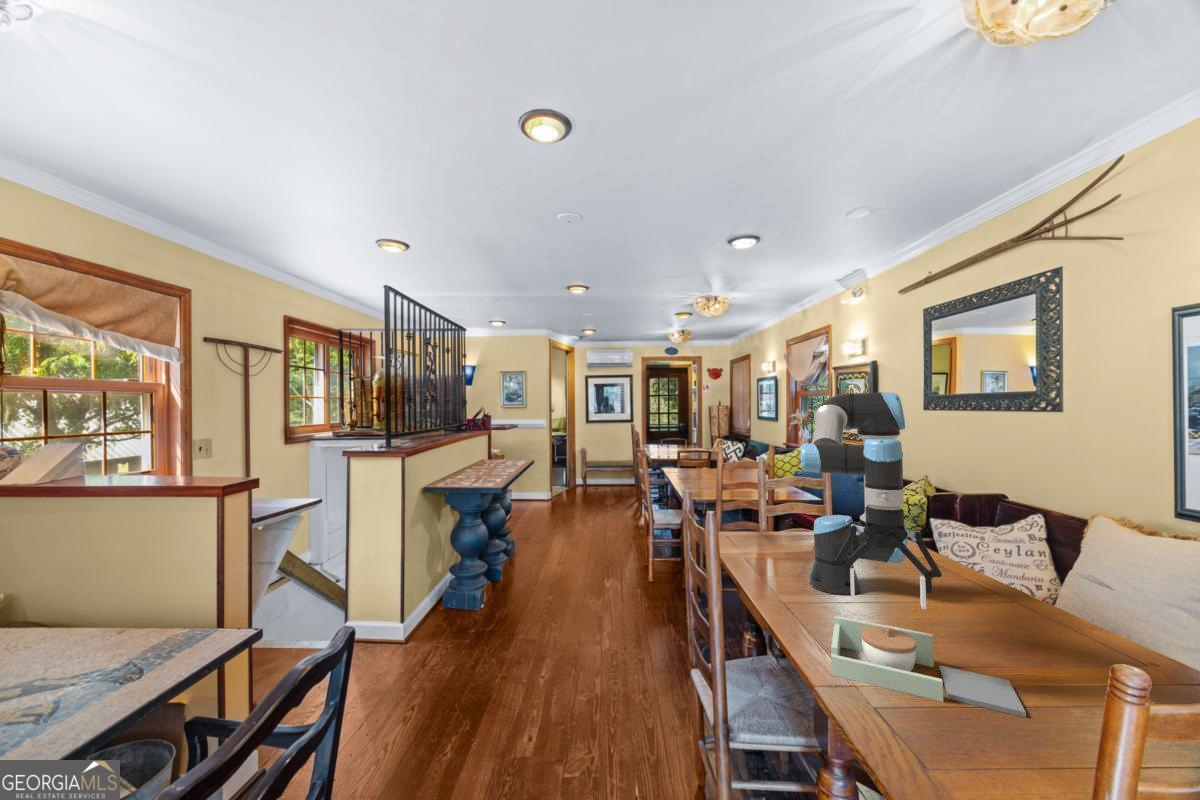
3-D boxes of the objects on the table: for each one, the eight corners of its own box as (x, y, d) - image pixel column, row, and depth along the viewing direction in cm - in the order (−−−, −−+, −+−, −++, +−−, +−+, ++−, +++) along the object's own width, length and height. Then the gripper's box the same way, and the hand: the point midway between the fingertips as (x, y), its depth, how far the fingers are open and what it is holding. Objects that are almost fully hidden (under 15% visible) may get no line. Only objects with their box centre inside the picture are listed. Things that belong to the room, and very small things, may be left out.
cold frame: (835, 643, 116) (834, 615, 116) (933, 664, 106) (932, 634, 106) (831, 674, 103) (830, 642, 103) (943, 702, 93) (942, 666, 93)
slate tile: (939, 669, 104) (939, 665, 104) (1008, 684, 98) (1008, 680, 98) (948, 698, 94) (947, 693, 94) (1026, 717, 88) (1025, 712, 88)
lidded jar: (927, 687, 98) (925, 642, 98) (871, 682, 100) (870, 638, 100) (904, 660, 108) (903, 620, 108) (854, 656, 110) (853, 616, 110)
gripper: (822, 504, 108) (824, 596, 107) (955, 515, 95) (959, 618, 95) (824, 499, 114) (826, 585, 113) (949, 508, 102) (952, 605, 101)
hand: (886, 601), depth 104 cm, fingers open, 13 cm apart
